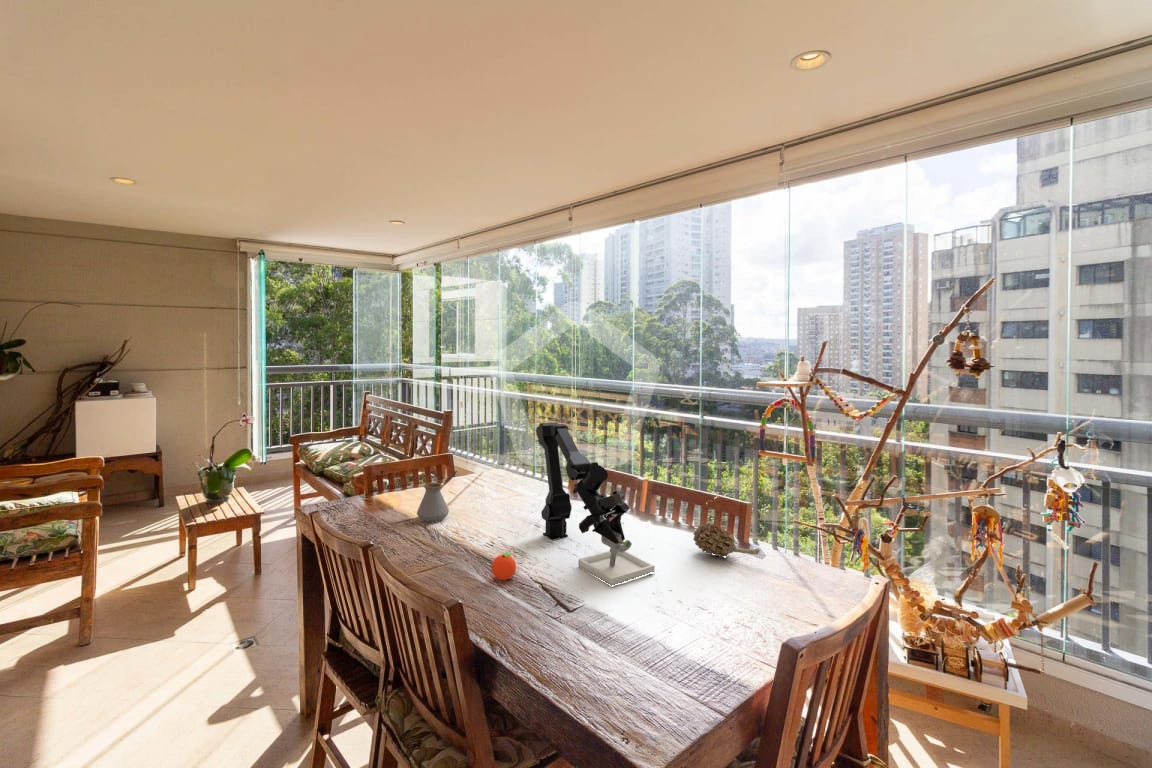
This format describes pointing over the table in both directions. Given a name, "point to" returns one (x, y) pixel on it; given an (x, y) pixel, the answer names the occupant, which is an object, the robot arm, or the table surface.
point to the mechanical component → (616, 547)
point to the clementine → (503, 567)
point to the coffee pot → (433, 502)
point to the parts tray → (615, 567)
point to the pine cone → (717, 540)
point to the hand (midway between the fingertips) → (620, 541)
